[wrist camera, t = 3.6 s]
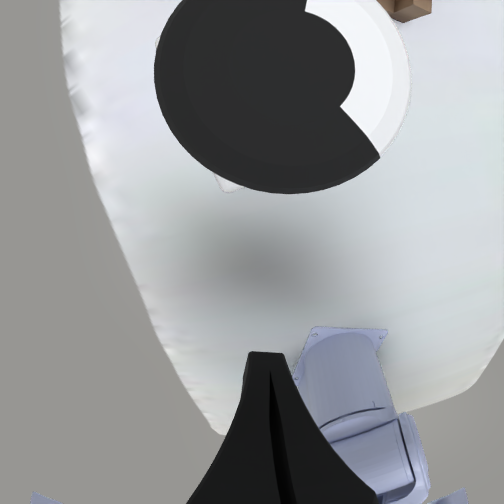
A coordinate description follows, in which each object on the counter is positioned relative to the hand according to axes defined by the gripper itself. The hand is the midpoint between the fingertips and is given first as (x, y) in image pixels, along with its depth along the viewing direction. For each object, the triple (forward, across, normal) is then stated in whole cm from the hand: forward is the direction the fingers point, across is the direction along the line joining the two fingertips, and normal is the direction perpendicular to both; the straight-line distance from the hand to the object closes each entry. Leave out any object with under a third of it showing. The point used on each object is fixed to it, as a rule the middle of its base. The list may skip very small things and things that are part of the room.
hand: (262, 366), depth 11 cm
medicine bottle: (+11, +1, -10) cm, 15 cm away
